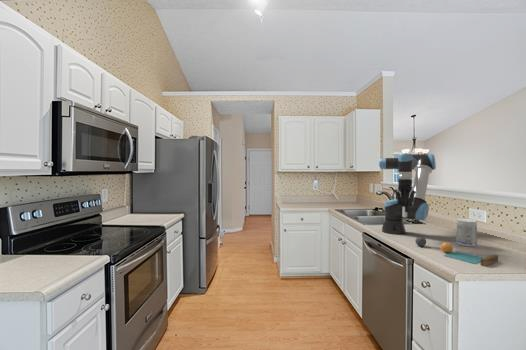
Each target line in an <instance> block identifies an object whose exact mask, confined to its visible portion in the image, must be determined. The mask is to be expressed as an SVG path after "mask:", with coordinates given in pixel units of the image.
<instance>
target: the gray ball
mask: <svg viewBox="0 0 526 350" xmlns="http://www.w3.org/2000/svg"><path fill="white" fill-rule="evenodd" d="M415 244H416V245H417V246H419V247H424V246H426V244H427V239H425V237H423V236H418V237H416V238H415Z"/></svg>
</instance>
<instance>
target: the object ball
mask: <svg viewBox="0 0 526 350" xmlns="http://www.w3.org/2000/svg"><path fill="white" fill-rule="evenodd" d="M440 249H441V251H442V252H444V253H446V254H450V253H453V249H454V246H453V245H452V244H451V243H449V242H443V243H441V244H440Z"/></svg>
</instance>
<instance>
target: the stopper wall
mask: <svg viewBox="0 0 526 350" xmlns="http://www.w3.org/2000/svg"><path fill="white" fill-rule="evenodd" d="M498 262H499V255H497V254H491V255H488V256H485V257H484V258H482V259H481V262H480V266H481V267H489V266H490V265H491V266H492V265H493V264H496V263H498Z"/></svg>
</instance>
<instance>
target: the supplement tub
mask: <svg viewBox="0 0 526 350" xmlns="http://www.w3.org/2000/svg"><path fill="white" fill-rule="evenodd" d="M477 236H478V223H477V220H475V219H470V218H469V219H468V218H457V219H456V244H457V245H459V246H462V247H463V246H464V247H468V248H470V247H472V248H473V247H476V246H477V245H478V244H477V241H478V239H477V238H478V237H477Z"/></svg>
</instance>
